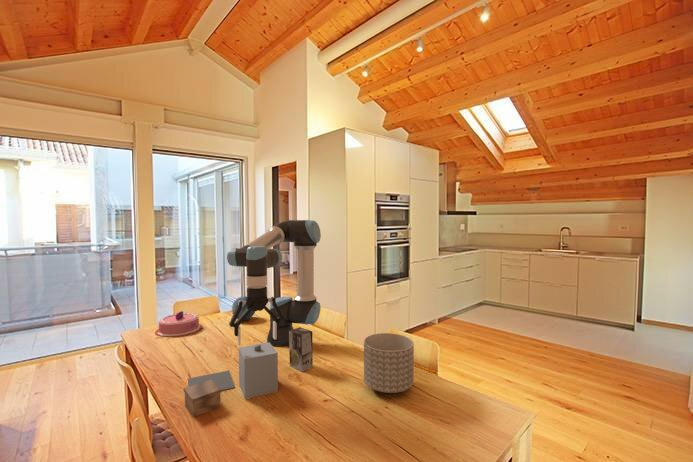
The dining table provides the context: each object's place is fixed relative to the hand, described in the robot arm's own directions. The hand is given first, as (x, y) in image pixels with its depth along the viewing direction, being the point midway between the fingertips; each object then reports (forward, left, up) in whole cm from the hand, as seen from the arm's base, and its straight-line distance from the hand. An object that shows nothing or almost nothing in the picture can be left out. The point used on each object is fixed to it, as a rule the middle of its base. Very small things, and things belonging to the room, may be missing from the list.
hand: (257, 341), depth 128 cm
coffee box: (-21, -10, -19) cm, 30 cm away
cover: (0, 0, -18) cm, 18 cm away
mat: (+16, -12, -18) cm, 27 cm away
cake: (+26, -90, -19) cm, 96 cm away
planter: (-45, +23, -19) cm, 54 cm away
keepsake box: (+20, +4, -18) cm, 27 cm away
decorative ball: (-11, -92, -19) cm, 95 cm away
